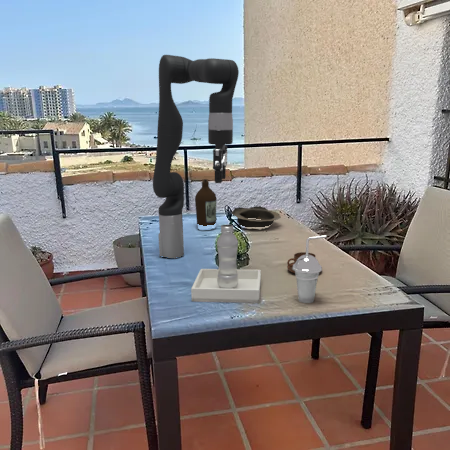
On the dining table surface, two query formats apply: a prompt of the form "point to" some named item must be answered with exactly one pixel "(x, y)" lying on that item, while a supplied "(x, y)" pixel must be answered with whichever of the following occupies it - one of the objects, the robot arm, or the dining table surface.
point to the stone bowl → (255, 216)
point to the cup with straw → (307, 274)
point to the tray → (242, 293)
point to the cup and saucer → (296, 260)
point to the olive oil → (205, 205)
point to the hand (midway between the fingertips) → (220, 180)
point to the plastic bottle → (227, 258)
